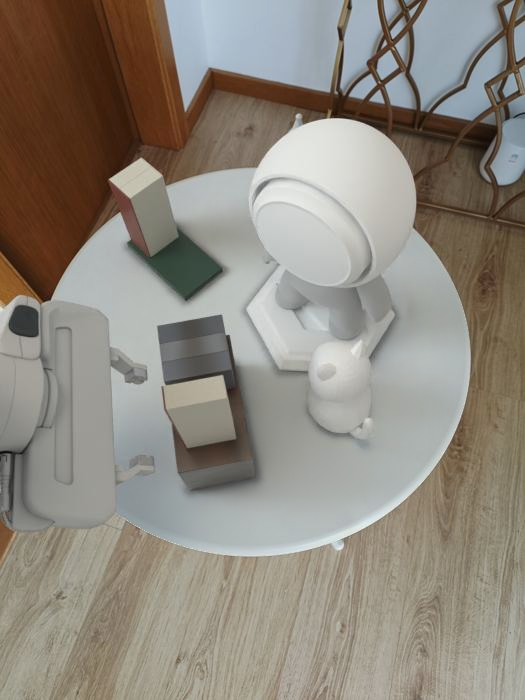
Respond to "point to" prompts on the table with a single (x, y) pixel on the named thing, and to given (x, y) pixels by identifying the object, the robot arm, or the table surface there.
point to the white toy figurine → (328, 237)
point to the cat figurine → (341, 388)
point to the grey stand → (198, 363)
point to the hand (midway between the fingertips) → (147, 419)
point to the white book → (199, 411)
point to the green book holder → (159, 230)
